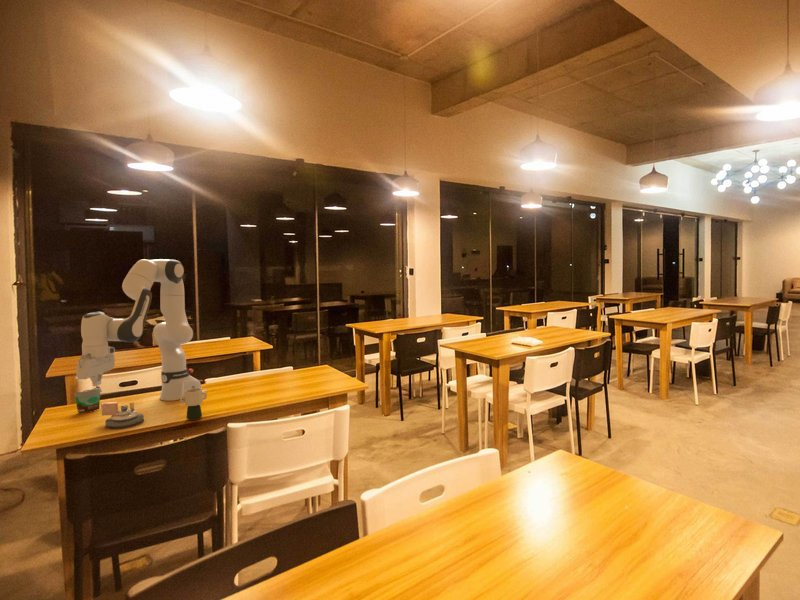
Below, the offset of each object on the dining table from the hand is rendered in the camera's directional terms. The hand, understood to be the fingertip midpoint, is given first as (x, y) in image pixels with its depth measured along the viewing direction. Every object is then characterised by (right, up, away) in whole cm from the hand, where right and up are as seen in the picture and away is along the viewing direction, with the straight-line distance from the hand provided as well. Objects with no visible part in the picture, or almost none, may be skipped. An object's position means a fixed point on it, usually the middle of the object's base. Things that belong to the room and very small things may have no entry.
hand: (96, 385), depth 181 cm
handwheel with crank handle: (+7, -18, +8) cm, 20 cm away
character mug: (+34, -18, +12) cm, 41 cm away
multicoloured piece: (+5, -16, +8) cm, 18 cm away
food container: (-20, -17, +26) cm, 37 cm away
